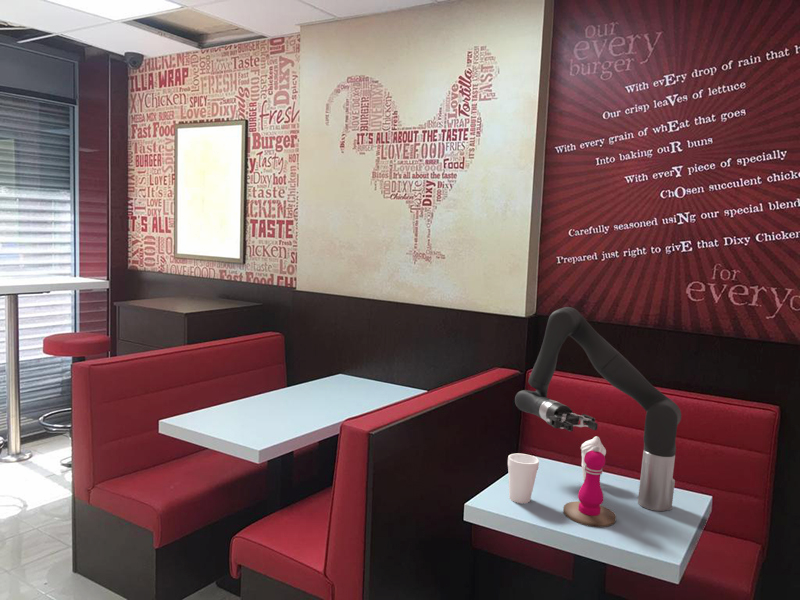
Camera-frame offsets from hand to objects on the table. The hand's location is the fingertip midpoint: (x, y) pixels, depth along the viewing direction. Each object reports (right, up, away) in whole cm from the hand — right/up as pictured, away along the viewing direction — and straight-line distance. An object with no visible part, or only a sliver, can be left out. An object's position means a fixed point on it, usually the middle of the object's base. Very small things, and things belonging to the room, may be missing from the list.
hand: (584, 427), depth 204 cm
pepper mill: (0, -24, -4) cm, 25 cm away
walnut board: (0, -25, -4) cm, 26 cm away
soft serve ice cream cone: (+9, -23, +24) cm, 35 cm away
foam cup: (-19, -23, +4) cm, 30 cm away
